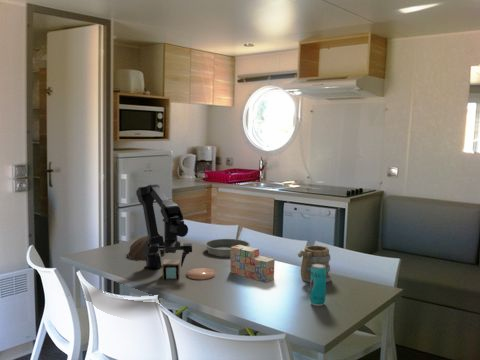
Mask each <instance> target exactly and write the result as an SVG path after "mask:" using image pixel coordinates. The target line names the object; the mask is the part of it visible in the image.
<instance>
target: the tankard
mask: <svg viewBox="0 0 480 360" xmlns="http://www.w3.org/2000/svg"><path fill="white" fill-rule="evenodd" d="M297 257H298V258H300V259H301V258H302V264H301V267H300V277H301V280H302V281H304V282H307V283H310V282H311V268H312V265H313V264H323V265H325V268H326V283H329V282H331V281H332V276H331V274H330V273H329V272H331V265H330V263H329V262H330V261H331V255H330V249H329V248H328V247H327V246H323V245H308V246H304V251H303V250H300V251H299V252H298V253H297Z"/></svg>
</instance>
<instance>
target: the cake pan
mask: <svg viewBox="0 0 480 360" xmlns="http://www.w3.org/2000/svg"><path fill="white" fill-rule="evenodd" d="M236 245H243V246H247V247H251V246H250V245H251V244H250V242H248V241H246V240H242V239H238V238H237V239H236V238H217V239H216V238H215V239H211V240H208V241H206V242H205V243H204V246H205V247H206V249H207V253H208V254H210V255H211V256H217V257H224V256H225V257H228V258H230V257H229V256H230V253H231V252H230V248H228V247H233V246H236Z"/></svg>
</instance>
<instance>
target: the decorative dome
mask: <svg viewBox="0 0 480 360" xmlns="http://www.w3.org/2000/svg"><path fill="white" fill-rule="evenodd" d="M147 236H148V235H145V236H142V237H139V238H138V239H137V240H135V241H134V242H133V243H132V244H131V246H130V247H129V251H128V254H127V257H130V256H131V258H132V259H133V258H138V259H139V260H146V256H144V255H143V249H144V247H145V246H146V239H147ZM165 255H166V253H165V250H164V254H163V255H161V258H162V257H165Z"/></svg>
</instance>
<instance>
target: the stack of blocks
mask: <svg viewBox="0 0 480 360" xmlns="http://www.w3.org/2000/svg"><path fill="white" fill-rule="evenodd" d="M229 249H230V252H231V253H230V257H229V259H230V268H229V269H230V273H232V274H235V275H239V276H241V277H244V278H249V279H252V280H256V281H260V282H264V283H268V282H270V281H273V280H275V258H271V257H267V256H262V255H260V249H259V248H256V247H252V246H249V247H247V246H243V245H236V246H233V247H230V248H229Z"/></svg>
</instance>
